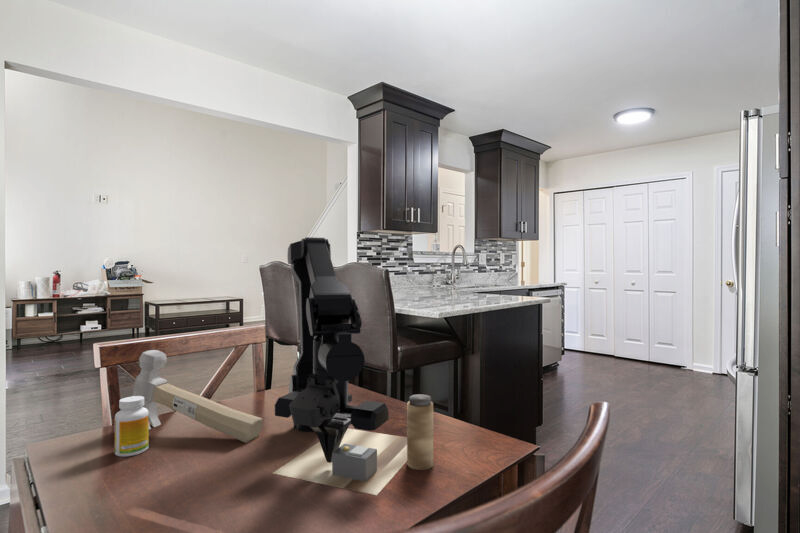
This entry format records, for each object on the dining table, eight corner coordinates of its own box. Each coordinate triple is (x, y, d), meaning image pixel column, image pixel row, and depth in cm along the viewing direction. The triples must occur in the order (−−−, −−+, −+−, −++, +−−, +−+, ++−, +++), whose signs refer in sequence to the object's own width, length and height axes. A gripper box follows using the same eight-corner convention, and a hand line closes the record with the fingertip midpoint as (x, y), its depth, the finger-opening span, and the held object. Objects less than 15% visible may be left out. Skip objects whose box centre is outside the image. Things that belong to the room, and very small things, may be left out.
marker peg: (403, 472, 73) (403, 399, 73) (412, 461, 77) (412, 392, 77) (428, 476, 71) (428, 402, 71) (436, 465, 75) (436, 395, 75)
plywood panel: (272, 478, 71) (272, 473, 71) (340, 431, 91) (340, 427, 91) (376, 500, 64) (376, 495, 64) (425, 444, 84) (425, 440, 84)
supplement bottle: (155, 448, 83) (155, 396, 83) (126, 459, 78) (127, 404, 78) (136, 443, 85) (136, 393, 85) (107, 454, 80) (107, 400, 80)
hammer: (270, 390, 87) (156, 348, 96) (255, 397, 83) (137, 351, 92) (255, 465, 88) (143, 416, 97) (239, 475, 84) (124, 423, 93)
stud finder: (332, 474, 70) (332, 450, 70) (344, 464, 74) (344, 441, 74) (365, 481, 68) (365, 457, 68) (377, 470, 71) (376, 447, 71)
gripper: (251, 372, 68) (251, 472, 68) (358, 384, 61) (357, 496, 61) (294, 358, 79) (294, 445, 79) (390, 367, 72) (389, 463, 72)
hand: (330, 461), depth 72 cm, fingers closed
